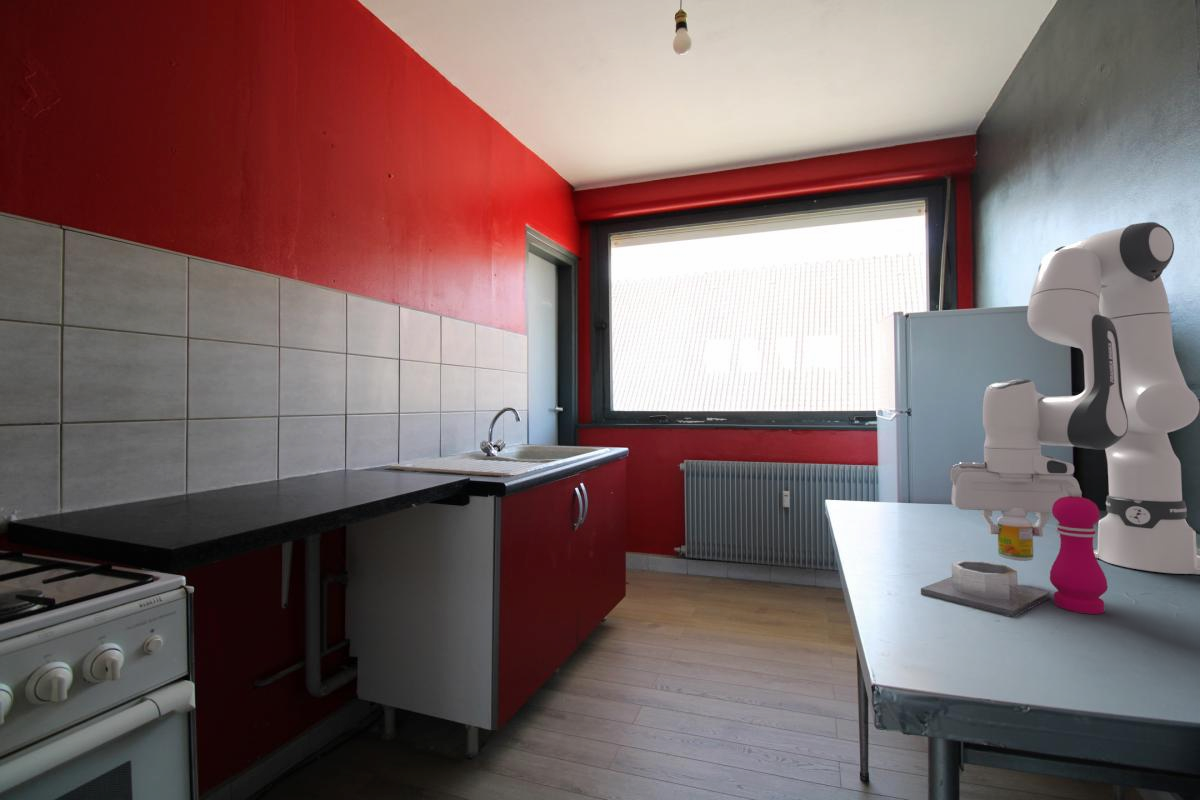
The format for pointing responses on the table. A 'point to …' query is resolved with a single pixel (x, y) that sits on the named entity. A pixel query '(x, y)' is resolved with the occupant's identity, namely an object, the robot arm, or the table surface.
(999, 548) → the supplement bottle
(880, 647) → the table surface
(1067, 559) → the pepper mill
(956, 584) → the collar
